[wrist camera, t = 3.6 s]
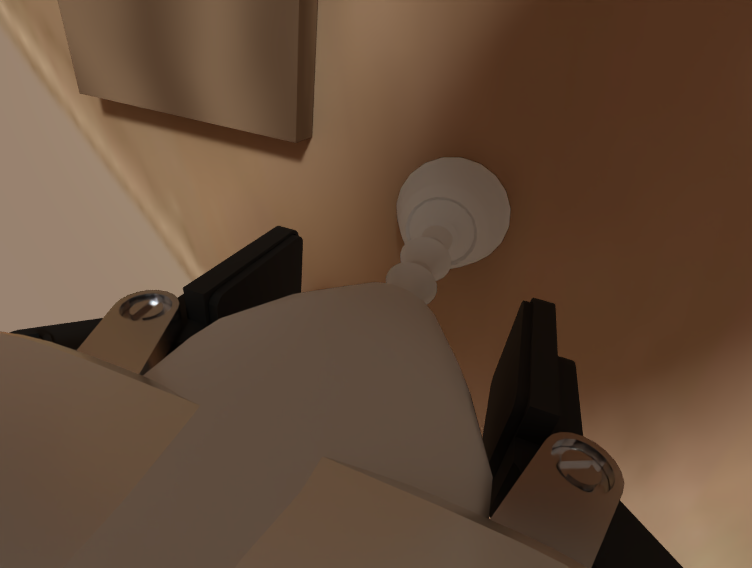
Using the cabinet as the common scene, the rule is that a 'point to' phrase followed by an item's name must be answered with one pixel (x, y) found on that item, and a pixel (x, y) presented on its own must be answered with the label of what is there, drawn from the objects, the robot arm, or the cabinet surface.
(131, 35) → the walnut board
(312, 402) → the chalice
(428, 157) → the cabinet surface
